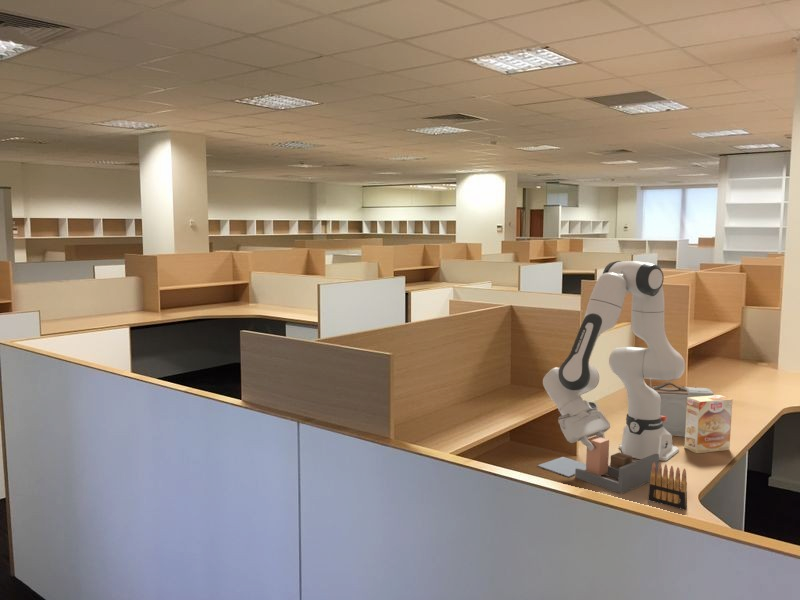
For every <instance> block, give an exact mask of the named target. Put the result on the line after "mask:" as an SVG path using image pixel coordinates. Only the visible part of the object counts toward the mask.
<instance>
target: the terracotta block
mask: <svg viewBox="0 0 800 600" xmlns="http://www.w3.org/2000/svg"><path fill="white" fill-rule="evenodd" d="M588 440H589V441H590V442H591V443H594V445H595V446H596V449H594V450H592V451H590V450H589V448H588V447H587V446H586V458H585V459H586V461H585V464H586V471H587V472H590V473H593V474H596V475H599V476H602V475H604V474H605V473H608V466H609V459H610V458H609V457H610V456H609V454H610V439H607V438H605V439H604V438H601V437H597V436H596V435H595V436H592V437H589V438H588Z"/></svg>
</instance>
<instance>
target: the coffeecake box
mask: <svg viewBox="0 0 800 600" xmlns="http://www.w3.org/2000/svg"><path fill="white" fill-rule="evenodd" d="M732 412H733V398H730V397H728V396H724V395H722V394H713V395H712V396H699V397H687V411H686V429H685V436H684V448H685V449H687V450H688V451H691V452H692V453H695V454H703V453H711V452H712V453H713V452H714V453H715V452H721V451H730V450H731V449H730V446H731V431H732V414H733V413H732Z"/></svg>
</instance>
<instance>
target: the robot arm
mask: <svg viewBox="0 0 800 600" xmlns="http://www.w3.org/2000/svg"><path fill="white" fill-rule="evenodd" d="M664 277H665V276H664V273H663V270H662V268H661V267H660V266H659V265H658V264H655V263H652V262H644V261H639V260H629V261H628V260H625V261H622V260H615V261H612V262H609V263H608V264H607V265H606V266H605V268H604V270H603V272H602V274H601V275H599V277H598V279H597V280H596V283H595V285H594V286H593V289H592V292H591V294H590V297H589V300H588V303H587V307H586V308H585V309H586V310H585V314H584V317H583V320H582V323H581V324H580V327H579V330H578V332H577V333H576V334H577V335H576V338H575V339H574V343H573V345H572V348H571V350H570V353H569V354H568V356H567V358H566V359H565V360H564V361H563V362H562V363H561V365H560V366H559V367H557V366H556V367H552V368H551V369H549V370H548V371H547V372H546V373H545V374H544V376H543V379H542V385H543V387H544V389H545V392H546V393H547V395H548V396H549V398H550V399H551V401H552V403H554V404H555V405H556V408H557V409H558V412H559V414H560V416H559V417H558V420H557V421H558V422H557V423H558V424H559V426H560V430H561V432H562V434H563V435H564V438H565V440H566V441H567V442H568V443H570V444H573V443H577V442H579V441H580V442H581V444H583V446H585V447H586V448H587V447H588V448H589V450H590V451H592V450H594V449H596V446H595V445H594V443H591V442H590V441H589V440H588V439H589V438H592V437H595V436H597V437H601V438H604V439H606V436H605V433H606V432H607V431H609V429H610V428H611V425H610V422H609V420H608V418H607V417H606V416H605V415H604V413H603V411H602V410H600V409H599V406H598V404H597V403H596V402H595V401H589V400H585V399H583V397H582V395H584V394H587V393H589V392H591V391H593V390H594V389H595V388H597V386H598V385H599V382H600V374H599V372H598V370H597V368H595V367H594V366H593V365H591V364H590V359H591V356H592V353H593V351H594V348H595V345H596V342H597V341H598V338H600V336H601V335H602V334H603V333H605V332H607V331H610V330H611V329H613V328H614V327H615V326H616V325H617V322H618V320H619V318H620V316H621V313H622V309H623V305H624V303H625V299H626V298H625V297H626V295H627V294H628V293H629V294H632V299H631V314H630V315H631V316H630V319H631V321H630V330H631V332H632V333H633V334H634V335H635V336H636V337H638V338H639V339H640V340H643V341H644V342H645V344H646V345H647V347H638V346H637V347H635V346H622V347H621V346H620V347H615V348H614V349H613V350H612V351H611V352H610V355H609V357H608V366H609V368H610V370H611V371H612V372H613V373H614V374H615V375H616V376H617V378H619V379H620V380H621V382H622V383H623V385H624V388H625V390H626V393H627V413H626V417H625V421H626V422H625V423H626V425H625V426H624V427H623V432H622V439H621V444H619V445H618V448H619V449H620V450H621V453H623V454H626V455H630V456H632V459H636V460H637V459H638V460H640V459H643V458H645V457H648V456H650V455H653V454H659V461H662V462H663V461H668V460H669V459H671V458H672V457H673V456H674V455H676V454H677V453H678V452H680V449H679V447H678V446H675V445H673V436H672V435H671V434H670V433H669V432H668V431H667V430H666V429H665V428H664V427H663V424H662V421H664V422H665V421H666V419H667V418H666V416H662V415H661V416H660V411H661V397H660V395H659V394H658V393H657V392H656V391H655V390H654V389H652V388H650V385H647V383H646V381H645V379H647V380H650V379H651V380H655V381H656V380H657V381H663V382H664V381H666V382H667V381H676V380H679V379H680V378H682V376H683V374H684V372H685V370H686V362H685V359H684V357H683V356H682V354H680V352H679V351H677V350H676V349H675V348H674V347H673V346H672V345H671V343H670V342H669V339H668V337H667V335H666V329H665V311H666V310H665V309H666V308H665V306H666V305H665V303H666V302H665V292H664V287H663V284H664Z"/></svg>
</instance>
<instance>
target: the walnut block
mask: <svg viewBox="0 0 800 600" xmlns="http://www.w3.org/2000/svg"><path fill="white" fill-rule="evenodd" d="M632 461H633V458H632V456H630V455H626V454H623V453H622V452H616V453H613V454H611V455H610V463H609V466H611V467H614V468H617V469H619V468H620V467H622V466H625V465H627V464H630V463H632Z"/></svg>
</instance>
